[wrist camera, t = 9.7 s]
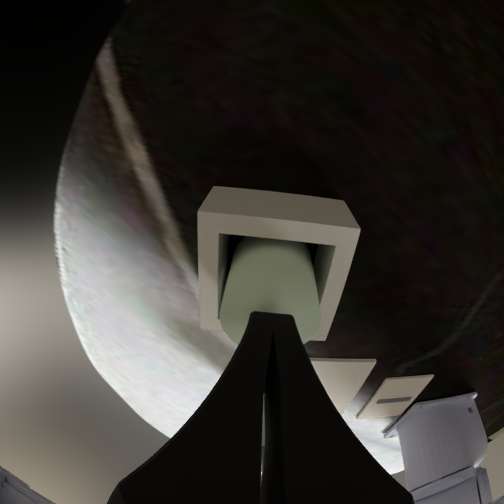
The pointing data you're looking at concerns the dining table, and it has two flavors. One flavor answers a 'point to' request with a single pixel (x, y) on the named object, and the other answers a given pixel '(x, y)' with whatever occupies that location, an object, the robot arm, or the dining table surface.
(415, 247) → the dining table surface
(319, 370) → the paper
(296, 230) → the button collar
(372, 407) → the card
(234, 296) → the plunger
